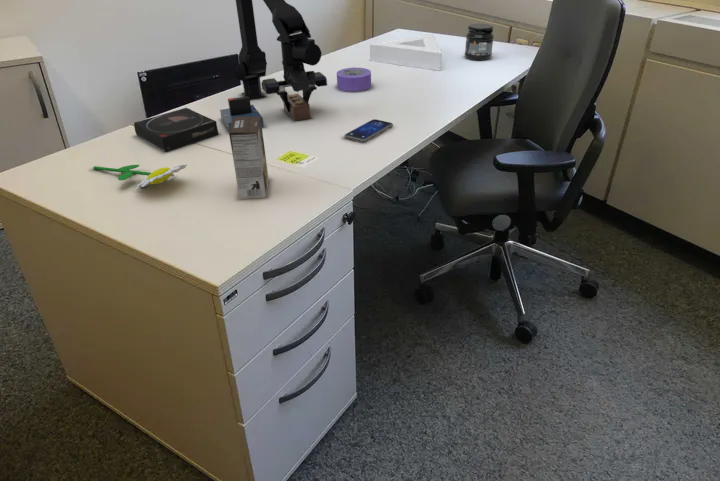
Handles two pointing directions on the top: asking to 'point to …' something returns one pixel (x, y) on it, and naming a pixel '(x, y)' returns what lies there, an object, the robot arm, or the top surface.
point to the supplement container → (479, 41)
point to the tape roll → (353, 79)
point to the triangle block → (408, 52)
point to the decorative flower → (152, 178)
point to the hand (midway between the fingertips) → (296, 110)
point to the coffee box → (249, 157)
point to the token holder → (298, 107)
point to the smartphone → (368, 130)
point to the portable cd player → (176, 129)
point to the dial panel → (227, 116)
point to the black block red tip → (239, 105)
